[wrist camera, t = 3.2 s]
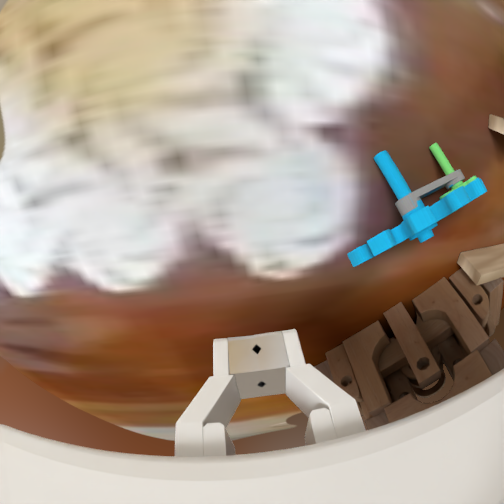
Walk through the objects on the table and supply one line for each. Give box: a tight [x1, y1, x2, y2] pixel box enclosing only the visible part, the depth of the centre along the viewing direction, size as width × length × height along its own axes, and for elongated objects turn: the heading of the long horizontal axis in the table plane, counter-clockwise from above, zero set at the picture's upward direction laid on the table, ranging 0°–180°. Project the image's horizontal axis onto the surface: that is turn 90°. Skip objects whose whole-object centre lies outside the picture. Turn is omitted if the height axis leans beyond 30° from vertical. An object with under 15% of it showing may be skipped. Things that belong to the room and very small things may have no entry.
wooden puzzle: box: [314, 268, 504, 430], centre depth 21 cm, size 22×15×19 cm, turn 127°
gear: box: [347, 143, 487, 267], centre depth 15 cm, size 11×6×10 cm
